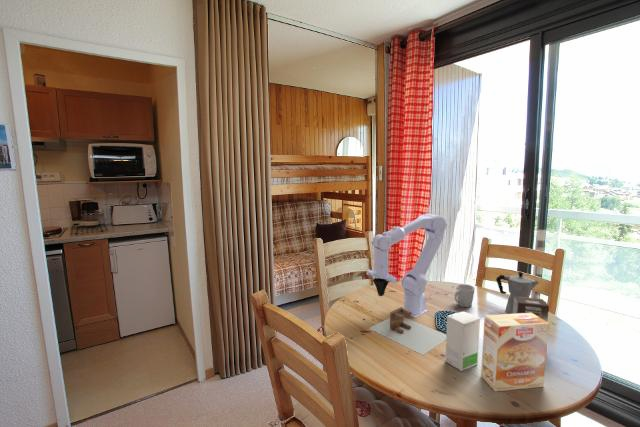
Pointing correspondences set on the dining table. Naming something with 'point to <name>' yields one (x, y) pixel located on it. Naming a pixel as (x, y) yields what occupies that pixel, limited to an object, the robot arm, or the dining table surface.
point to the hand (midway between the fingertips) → (381, 295)
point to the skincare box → (462, 340)
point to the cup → (464, 295)
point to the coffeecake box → (514, 351)
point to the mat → (411, 335)
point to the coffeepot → (516, 288)
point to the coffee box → (531, 306)
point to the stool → (398, 319)
